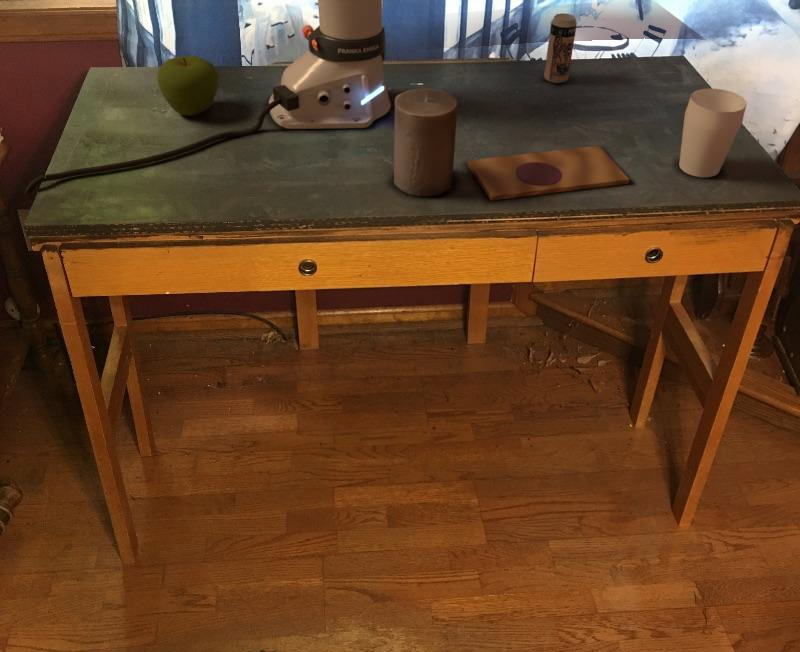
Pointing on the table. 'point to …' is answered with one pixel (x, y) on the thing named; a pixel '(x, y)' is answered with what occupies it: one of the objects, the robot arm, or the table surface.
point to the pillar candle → (424, 141)
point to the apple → (188, 84)
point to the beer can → (560, 48)
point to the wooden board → (546, 172)
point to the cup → (710, 130)
